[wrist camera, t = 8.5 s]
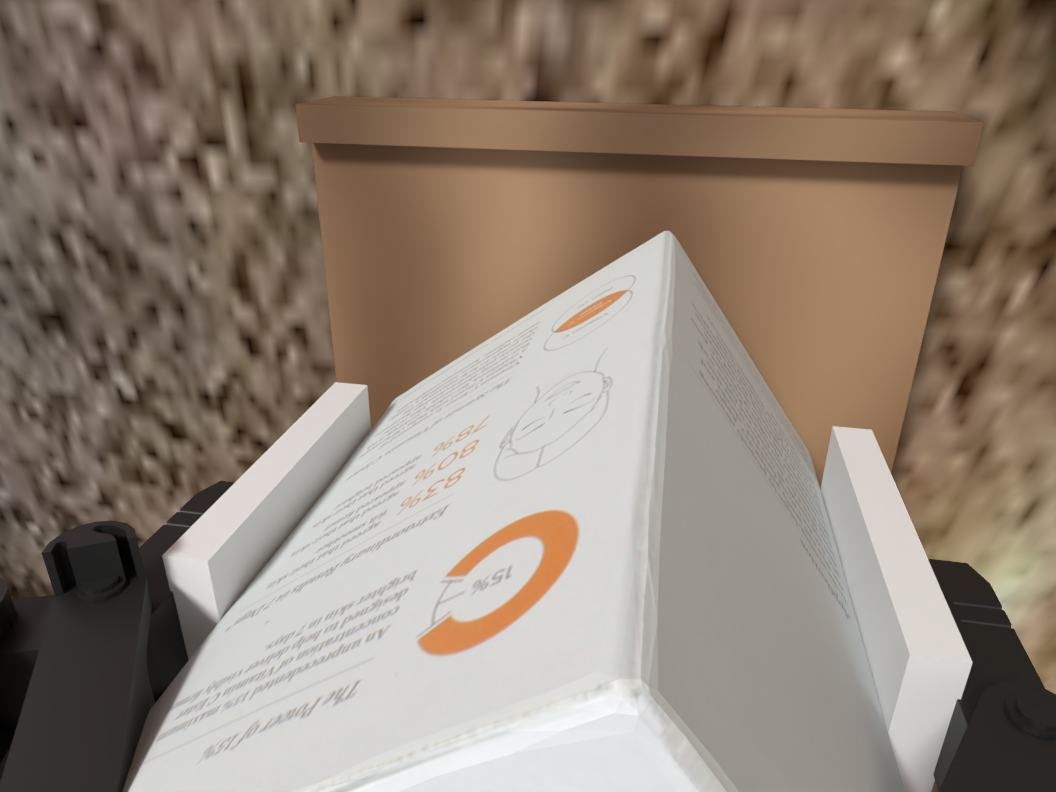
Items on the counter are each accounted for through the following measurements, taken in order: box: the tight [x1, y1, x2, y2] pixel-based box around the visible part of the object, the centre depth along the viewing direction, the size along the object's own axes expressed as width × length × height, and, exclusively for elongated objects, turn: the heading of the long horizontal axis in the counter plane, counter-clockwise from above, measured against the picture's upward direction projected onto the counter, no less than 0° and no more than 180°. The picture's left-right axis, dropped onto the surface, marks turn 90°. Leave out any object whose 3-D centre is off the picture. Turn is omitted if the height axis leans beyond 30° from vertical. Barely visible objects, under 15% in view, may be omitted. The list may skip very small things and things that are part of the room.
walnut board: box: [295, 96, 984, 489], centre depth 20 cm, size 14×14×2 cm
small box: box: [122, 231, 905, 792], centre depth 13 cm, size 8×6×13 cm
